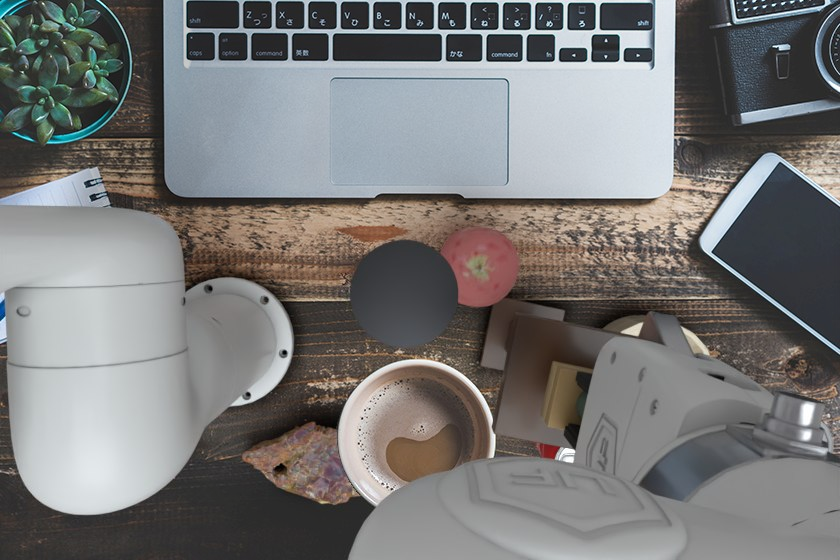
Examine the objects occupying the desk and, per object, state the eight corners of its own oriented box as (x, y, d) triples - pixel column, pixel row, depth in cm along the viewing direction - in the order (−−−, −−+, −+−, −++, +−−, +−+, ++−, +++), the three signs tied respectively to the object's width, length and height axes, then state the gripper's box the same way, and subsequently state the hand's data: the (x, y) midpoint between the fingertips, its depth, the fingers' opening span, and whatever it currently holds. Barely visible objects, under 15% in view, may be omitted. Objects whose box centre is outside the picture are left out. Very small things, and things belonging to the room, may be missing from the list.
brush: (539, 415, 42) (570, 460, 33) (552, 360, 42) (586, 391, 33) (619, 432, 42) (669, 481, 33) (631, 377, 42) (686, 412, 33)
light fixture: (392, 317, 67) (376, 365, 42) (364, 255, 66) (332, 266, 42) (454, 290, 67) (475, 322, 42) (427, 228, 66) (432, 222, 41)
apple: (428, 292, 67) (429, 300, 59) (446, 219, 66) (449, 217, 58) (501, 310, 67) (512, 320, 59) (519, 237, 66) (533, 237, 58)
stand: (468, 367, 67) (493, 434, 44) (484, 288, 67) (518, 314, 44) (557, 385, 67) (628, 460, 44) (574, 306, 67) (655, 341, 44)
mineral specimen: (276, 391, 62) (276, 394, 69) (231, 468, 60) (236, 463, 67) (389, 453, 63) (379, 449, 70) (350, 530, 61) (343, 519, 68)
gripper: (688, 273, 20) (561, 256, 38) (574, 783, 21) (503, 529, 39) (936, 323, 20) (691, 282, 39) (811, 828, 21) (630, 554, 39)
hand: (596, 408), depth 39 cm, fingers closed on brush, 2 cm apart
